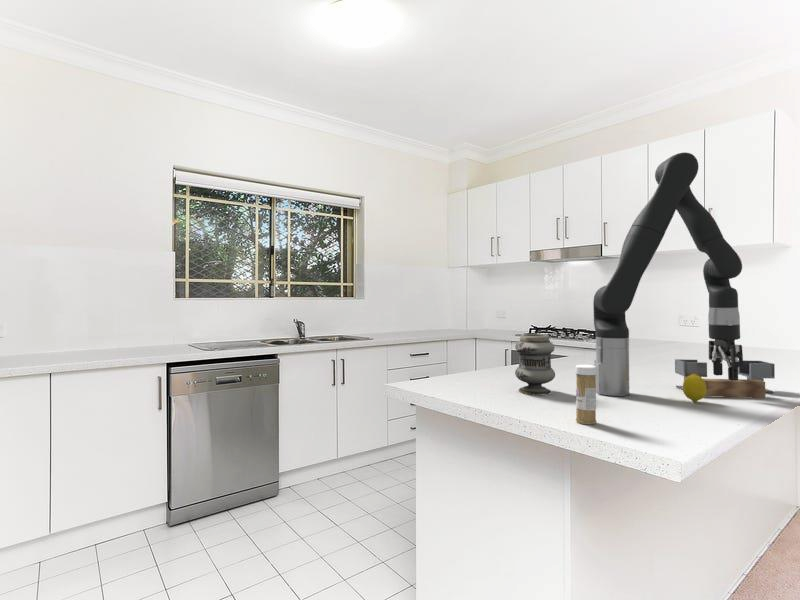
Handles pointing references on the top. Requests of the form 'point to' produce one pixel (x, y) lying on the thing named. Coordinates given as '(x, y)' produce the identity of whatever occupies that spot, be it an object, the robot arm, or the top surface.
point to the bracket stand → (749, 369)
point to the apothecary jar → (535, 363)
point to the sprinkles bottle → (586, 394)
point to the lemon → (694, 387)
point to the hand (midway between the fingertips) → (725, 377)
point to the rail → (735, 388)
